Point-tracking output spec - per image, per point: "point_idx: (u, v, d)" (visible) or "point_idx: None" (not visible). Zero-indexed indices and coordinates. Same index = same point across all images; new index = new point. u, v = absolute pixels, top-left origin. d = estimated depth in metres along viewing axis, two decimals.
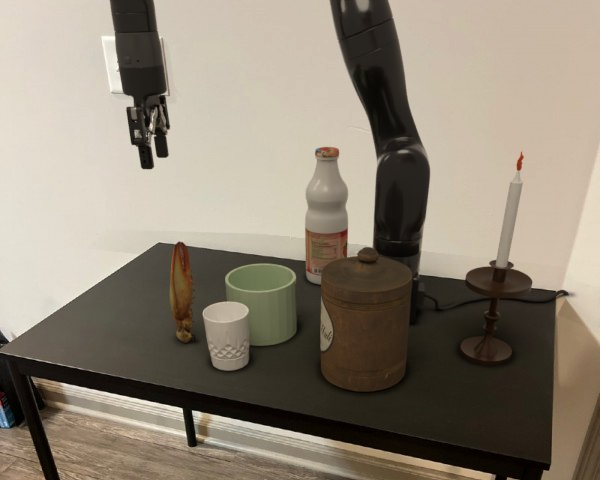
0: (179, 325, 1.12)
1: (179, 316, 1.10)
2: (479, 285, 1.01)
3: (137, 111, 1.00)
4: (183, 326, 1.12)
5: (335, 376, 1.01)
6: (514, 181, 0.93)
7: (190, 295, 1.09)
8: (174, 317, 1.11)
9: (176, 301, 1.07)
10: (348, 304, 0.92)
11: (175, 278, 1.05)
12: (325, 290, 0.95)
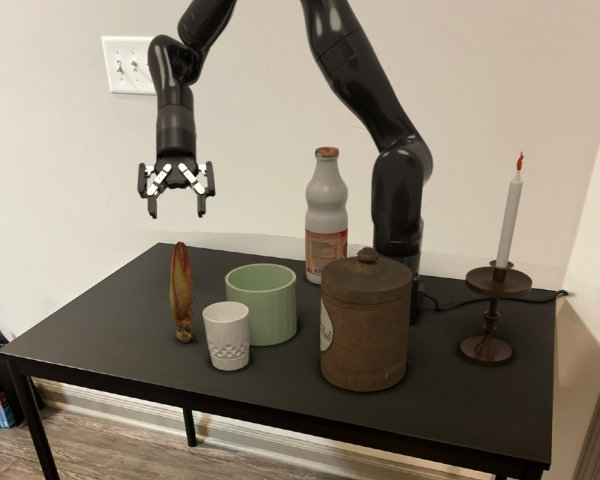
0: (179, 325, 1.12)
1: (179, 316, 1.10)
2: (479, 285, 1.01)
3: None
4: (183, 326, 1.12)
5: (335, 376, 1.01)
6: (514, 181, 0.93)
7: (190, 295, 1.09)
8: (174, 317, 1.11)
9: (176, 301, 1.07)
10: (348, 304, 0.92)
11: (175, 278, 1.05)
12: (325, 290, 0.95)
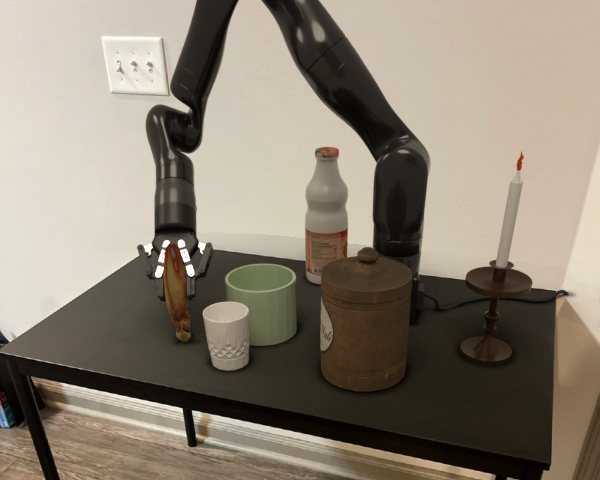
0: (177, 326, 1.12)
1: (176, 317, 1.10)
2: (479, 285, 1.01)
3: (138, 250, 1.09)
4: (181, 326, 1.12)
5: (335, 376, 1.01)
6: (514, 181, 0.93)
7: (185, 295, 1.09)
8: (171, 318, 1.11)
9: (171, 303, 1.07)
10: (348, 304, 0.92)
11: (169, 281, 1.04)
12: (325, 290, 0.95)
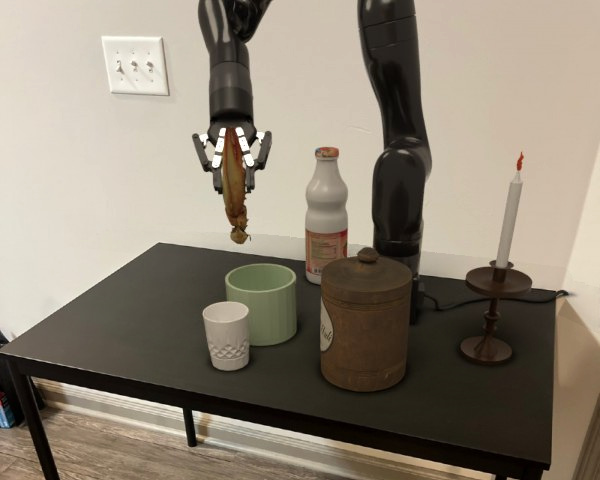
0: (234, 223, 1.05)
1: (234, 212, 1.03)
2: (479, 285, 1.01)
3: None
4: (238, 224, 1.05)
5: (335, 376, 1.01)
6: (514, 181, 0.93)
7: (244, 188, 1.02)
8: (228, 215, 1.04)
9: (230, 194, 1.00)
10: (348, 304, 0.92)
11: (228, 167, 0.97)
12: (325, 290, 0.95)
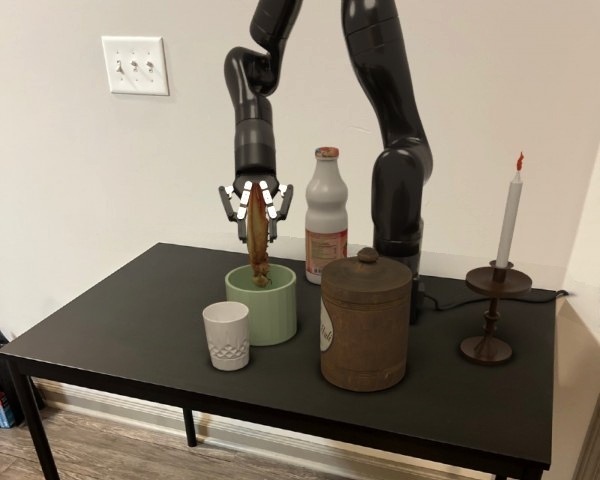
0: (256, 270, 1.11)
1: (256, 260, 1.09)
2: (479, 285, 1.01)
3: (219, 191, 1.08)
4: (260, 270, 1.11)
5: (335, 376, 1.01)
6: (514, 181, 0.93)
7: (267, 238, 1.08)
8: (251, 262, 1.11)
9: (254, 245, 1.06)
10: (348, 304, 0.92)
11: (253, 220, 1.04)
12: (325, 290, 0.95)
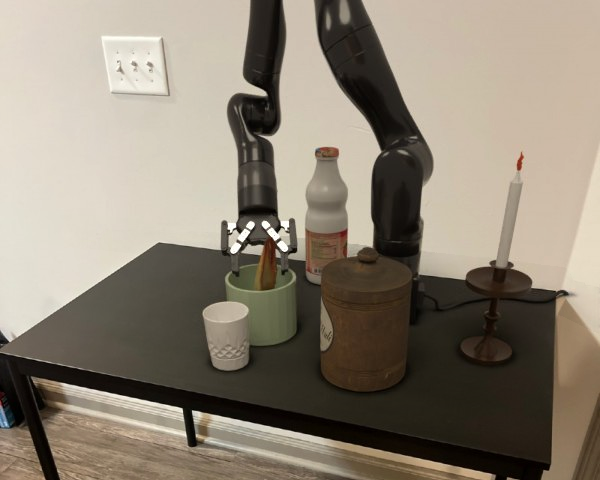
0: None
1: None
2: (479, 285, 1.01)
3: None
4: None
5: (335, 376, 1.01)
6: (514, 181, 0.93)
7: (274, 284, 1.11)
8: None
9: None
10: (348, 304, 0.92)
11: (263, 274, 1.06)
12: (325, 290, 0.95)
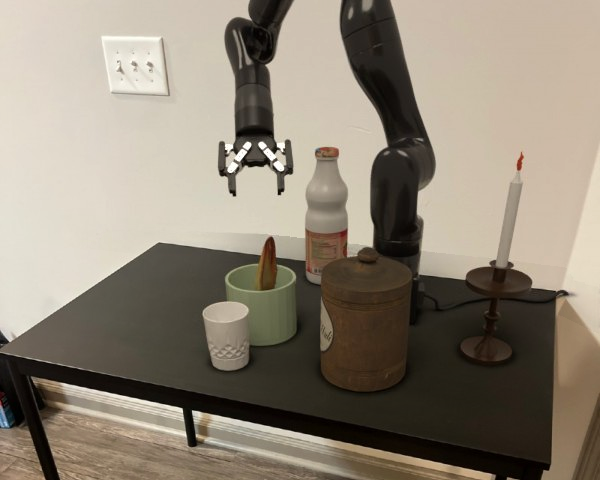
0: None
1: None
2: (479, 285, 1.01)
3: (219, 145, 1.15)
4: None
5: (335, 376, 1.01)
6: (514, 181, 0.93)
7: (274, 284, 1.11)
8: None
9: None
10: (348, 304, 0.92)
11: (263, 274, 1.06)
12: (325, 290, 0.95)
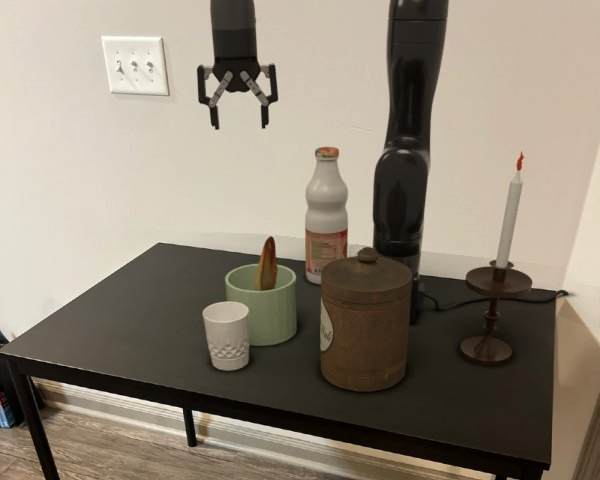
0: None
1: None
2: (479, 285, 1.01)
3: (197, 69, 1.05)
4: None
5: (335, 376, 1.01)
6: (514, 181, 0.93)
7: (274, 284, 1.11)
8: None
9: None
10: (348, 304, 0.92)
11: (263, 274, 1.06)
12: (325, 290, 0.95)
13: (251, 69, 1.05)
